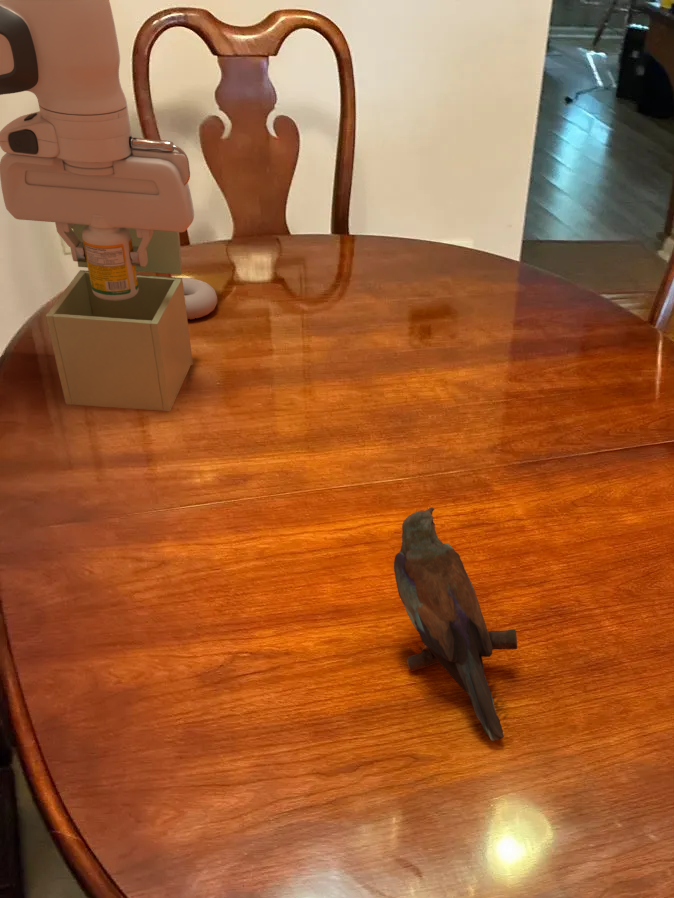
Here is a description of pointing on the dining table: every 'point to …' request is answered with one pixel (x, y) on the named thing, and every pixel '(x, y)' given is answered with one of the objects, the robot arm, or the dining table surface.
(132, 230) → the lid
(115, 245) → the supplement bottle
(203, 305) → the donut
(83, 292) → the chest
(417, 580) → the bird figurine
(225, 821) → the dining table surface
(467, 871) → the dining table surface
